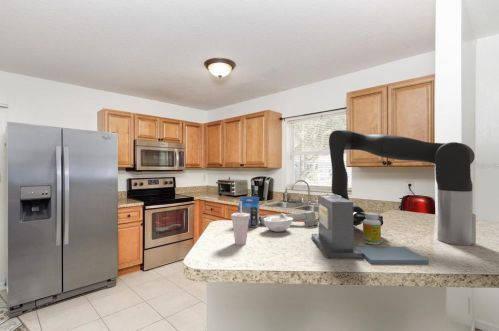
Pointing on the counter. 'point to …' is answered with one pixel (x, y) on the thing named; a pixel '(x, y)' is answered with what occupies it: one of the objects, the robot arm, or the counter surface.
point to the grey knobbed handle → (298, 218)
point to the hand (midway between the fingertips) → (369, 222)
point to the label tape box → (250, 210)
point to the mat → (391, 255)
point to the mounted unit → (336, 228)
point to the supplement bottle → (371, 229)
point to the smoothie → (240, 226)
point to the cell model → (278, 222)
